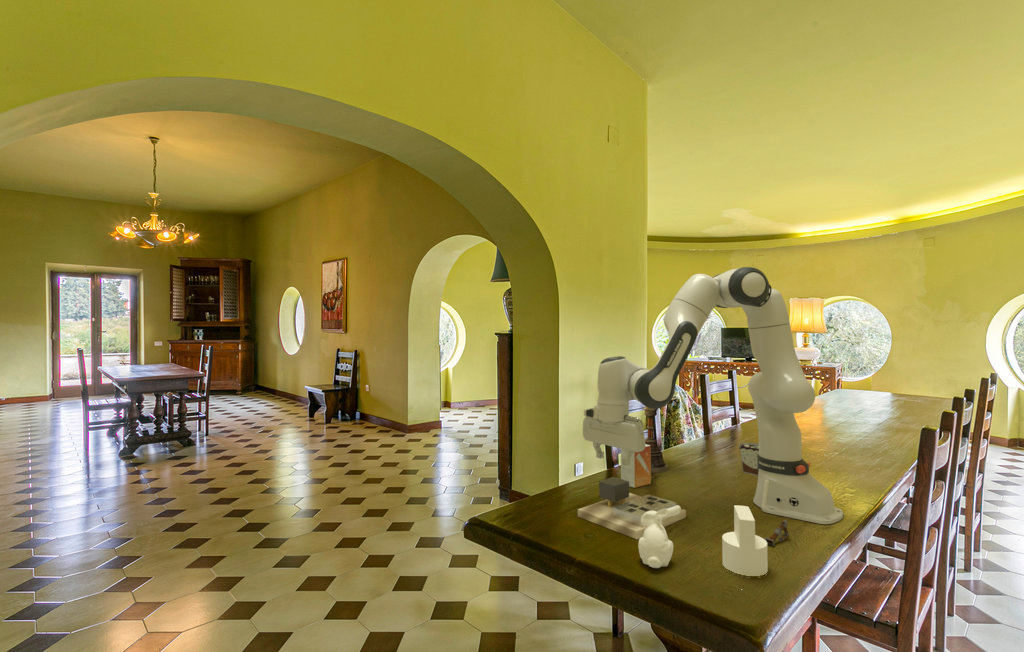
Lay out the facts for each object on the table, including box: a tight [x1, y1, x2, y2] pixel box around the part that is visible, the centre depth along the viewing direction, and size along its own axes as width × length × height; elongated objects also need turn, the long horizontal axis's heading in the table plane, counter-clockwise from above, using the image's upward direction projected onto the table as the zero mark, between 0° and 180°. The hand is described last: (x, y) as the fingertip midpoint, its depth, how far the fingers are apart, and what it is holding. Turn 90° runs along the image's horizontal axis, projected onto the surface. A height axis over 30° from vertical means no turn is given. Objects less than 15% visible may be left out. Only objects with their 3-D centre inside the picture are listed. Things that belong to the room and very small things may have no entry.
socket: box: [613, 494, 677, 527], centre depth 136 cm, size 9×16×2 cm, turn 130°
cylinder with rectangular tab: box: [721, 505, 769, 576], centre depth 110 cm, size 9×9×12 cm
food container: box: [738, 442, 759, 477], centre depth 178 cm, size 12×6×10 cm, turn 34°
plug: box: [598, 476, 630, 506], centre depth 145 cm, size 6×9×6 cm, turn 129°
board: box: [577, 492, 687, 540], centre depth 139 cm, size 20×22×2 cm
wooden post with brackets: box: [764, 519, 790, 547], centre depth 123 cm, size 2×8×5 cm, turn 122°
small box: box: [620, 444, 652, 489], centre depth 168 cm, size 8×6×13 cm
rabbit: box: [637, 504, 682, 569], centre depth 113 cm, size 12×9×12 cm
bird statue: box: [643, 397, 678, 474], centre depth 185 cm, size 17×13×35 cm
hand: (612, 461), depth 144 cm, fingers open, 8 cm apart
